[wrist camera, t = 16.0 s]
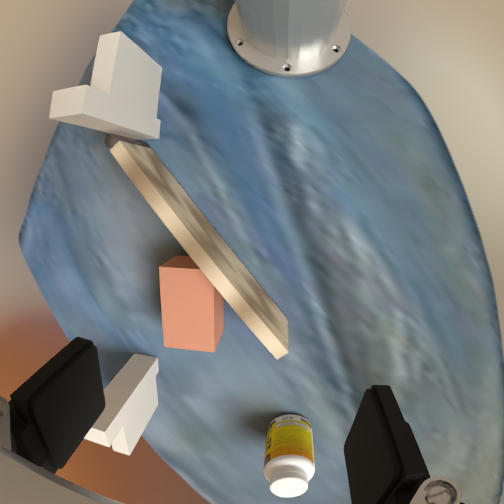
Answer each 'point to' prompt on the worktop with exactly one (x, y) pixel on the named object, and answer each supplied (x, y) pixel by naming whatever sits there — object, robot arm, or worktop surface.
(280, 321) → the gate door
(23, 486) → the robot arm
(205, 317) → the salmon orange block
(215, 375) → the worktop surface
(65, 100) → the wall frame
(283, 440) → the supplement bottle
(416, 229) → the worktop surface
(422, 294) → the worktop surface
